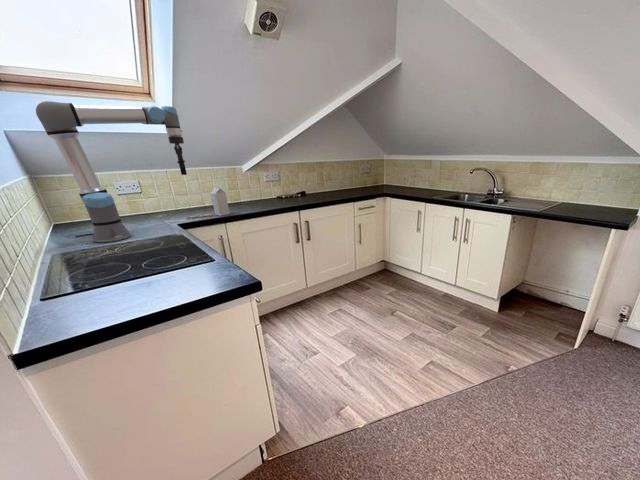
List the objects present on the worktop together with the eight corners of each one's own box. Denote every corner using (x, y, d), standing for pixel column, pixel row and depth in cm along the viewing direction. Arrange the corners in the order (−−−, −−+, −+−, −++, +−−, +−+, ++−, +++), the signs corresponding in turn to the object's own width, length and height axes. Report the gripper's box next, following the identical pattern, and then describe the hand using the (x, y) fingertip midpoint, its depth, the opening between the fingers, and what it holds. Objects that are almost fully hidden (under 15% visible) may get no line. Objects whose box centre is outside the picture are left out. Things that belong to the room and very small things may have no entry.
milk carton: (220, 216, 205) (213, 187, 197) (215, 214, 209) (208, 186, 201) (230, 214, 210) (224, 186, 202) (225, 213, 214) (219, 185, 206)
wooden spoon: (187, 219, 198) (186, 217, 197) (187, 218, 202) (186, 216, 201) (212, 216, 205) (212, 214, 204) (211, 215, 208) (211, 213, 208)
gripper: (182, 135, 168) (191, 175, 176) (182, 137, 188) (190, 172, 196) (166, 135, 165) (176, 175, 173) (168, 136, 185) (177, 172, 193)
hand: (184, 174), depth 185 cm, fingers open, 13 cm apart
